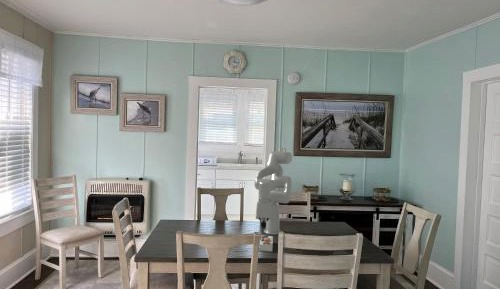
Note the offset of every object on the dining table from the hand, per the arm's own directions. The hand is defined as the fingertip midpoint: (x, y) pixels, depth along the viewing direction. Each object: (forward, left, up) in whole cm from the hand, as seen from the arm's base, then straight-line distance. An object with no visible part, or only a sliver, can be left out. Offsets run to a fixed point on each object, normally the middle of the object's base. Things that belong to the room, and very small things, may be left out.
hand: (263, 227), depth 251 cm
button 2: (+14, +3, -6) cm, 16 cm away
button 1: (+1, 0, -8) cm, 8 cm away
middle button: (+8, +1, -6) cm, 10 cm away
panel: (+8, +1, -10) cm, 13 cm away
